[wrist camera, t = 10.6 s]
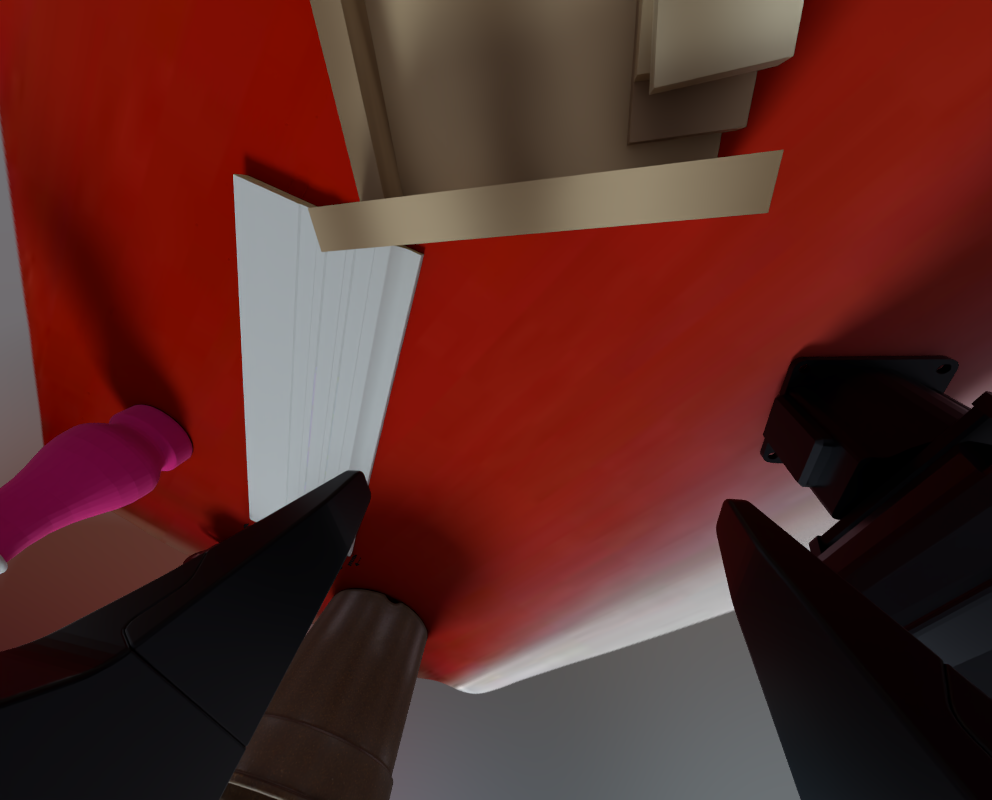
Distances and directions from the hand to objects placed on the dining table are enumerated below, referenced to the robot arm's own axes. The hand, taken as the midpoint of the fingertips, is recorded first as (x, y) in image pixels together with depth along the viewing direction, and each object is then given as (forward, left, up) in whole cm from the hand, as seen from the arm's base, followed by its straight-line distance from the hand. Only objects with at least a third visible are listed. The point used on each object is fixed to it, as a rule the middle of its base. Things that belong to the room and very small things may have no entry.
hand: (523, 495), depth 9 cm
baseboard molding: (+18, +8, -14) cm, 24 cm away
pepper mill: (+36, +9, -13) cm, 39 cm away
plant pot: (+21, +35, -13) cm, 43 cm away
